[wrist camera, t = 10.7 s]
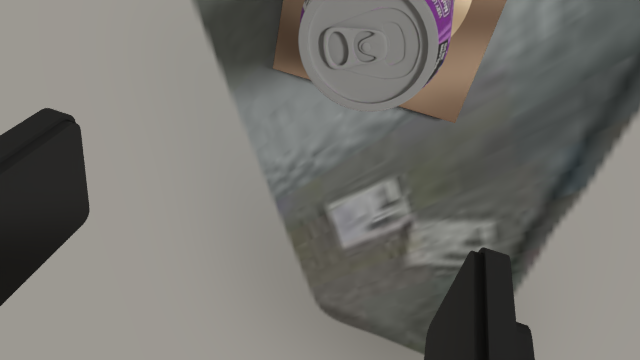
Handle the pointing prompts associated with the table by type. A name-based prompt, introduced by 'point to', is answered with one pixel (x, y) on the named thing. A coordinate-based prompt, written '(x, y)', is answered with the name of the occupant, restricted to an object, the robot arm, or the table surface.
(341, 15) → the beverage can
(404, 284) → the table surface
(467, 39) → the board
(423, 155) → the table surface
